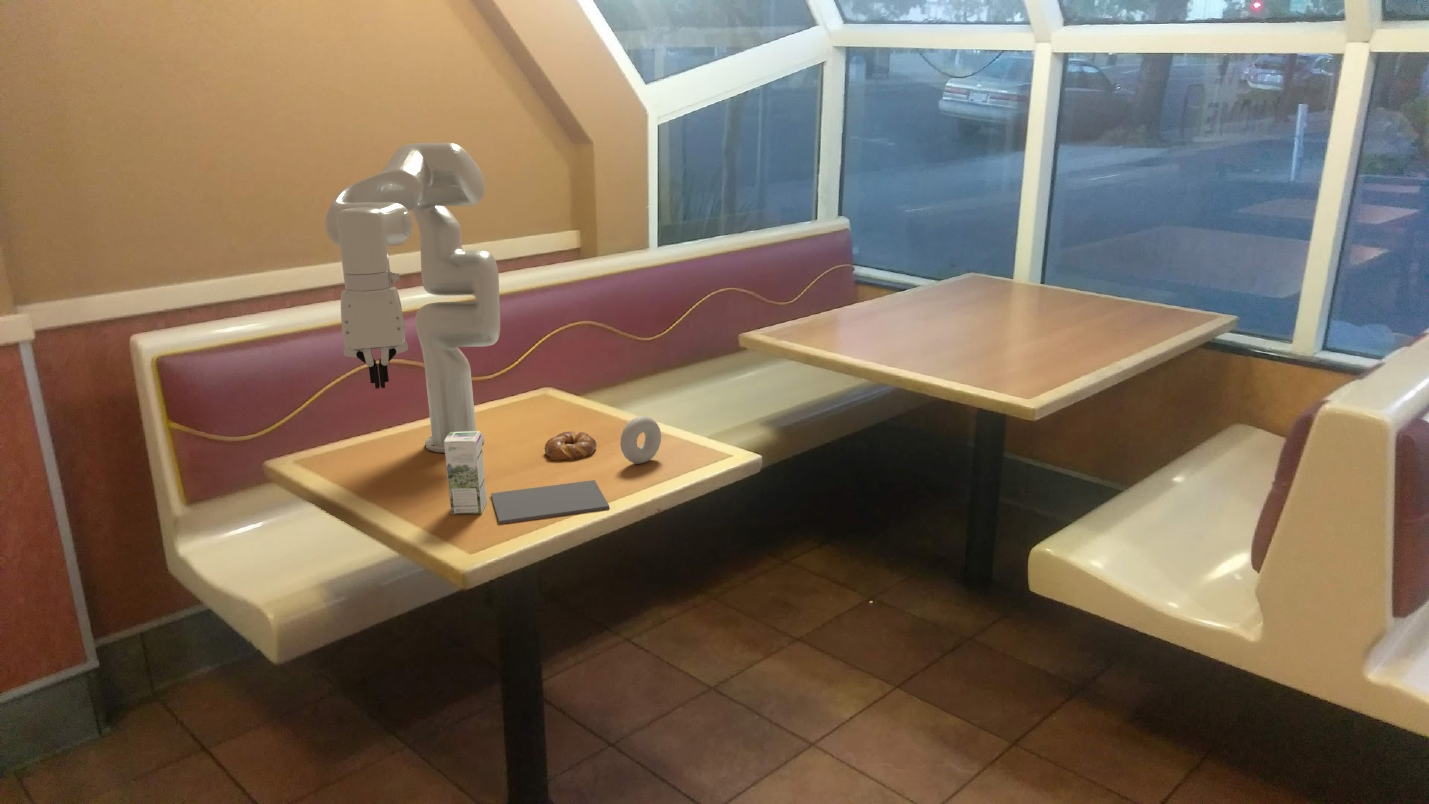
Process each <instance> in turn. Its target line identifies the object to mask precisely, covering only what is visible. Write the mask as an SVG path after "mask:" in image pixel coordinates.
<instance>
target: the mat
mask: <svg viewBox="0 0 1429 804" xmlns="http://www.w3.org/2000/svg"><path fill="white" fill-rule="evenodd" d="M490 495H491V496H490V497H491V500H492V503H493V507H494V510H495V513H496V518H497V521H498V523H499V525H502V524H503V525H504V524H509V523H517V522H524V521H525V522H526V521H530V520H531V521H532V520H537V519H538V520H539V519H540V520H541V519H546V518H554V517H560V516H569V515H577V514H582V513H589V512H596V511H597V512H598V511H605V510H610V504H609V503H608V501H607V500H606V497H605V496H604V494H603V493H602V491H601V488H600V487H599V485H598V484H597V481H596V480H595V479H593V480H592V479H591V480H584V481H577V482H569V483H561V484H554V485H546V486H544V485H543V486H538V487H531V488H522V489H514V490H507V491H498V492H491V494H490Z"/></svg>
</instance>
